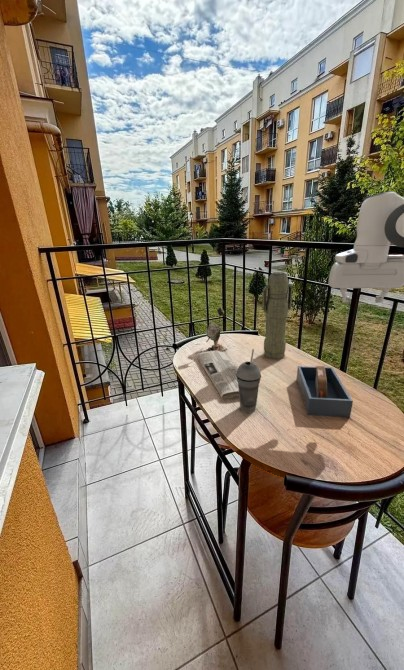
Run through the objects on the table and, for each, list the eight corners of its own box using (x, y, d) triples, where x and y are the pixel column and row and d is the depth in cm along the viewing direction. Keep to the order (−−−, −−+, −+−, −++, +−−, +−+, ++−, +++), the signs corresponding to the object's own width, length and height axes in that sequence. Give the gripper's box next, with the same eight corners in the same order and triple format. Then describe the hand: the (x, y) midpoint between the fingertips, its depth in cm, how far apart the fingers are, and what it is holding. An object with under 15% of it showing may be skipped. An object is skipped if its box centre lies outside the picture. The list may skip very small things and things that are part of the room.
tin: (326, 409, 83) (329, 384, 80) (314, 407, 84) (317, 383, 81) (323, 384, 96) (325, 362, 93) (313, 382, 97) (315, 361, 94)
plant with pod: (216, 343, 136) (215, 303, 129) (229, 351, 127) (229, 308, 120) (201, 347, 132) (200, 306, 125) (214, 355, 123) (213, 311, 116)
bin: (330, 381, 99) (332, 367, 97) (350, 417, 80) (353, 400, 78) (296, 379, 101) (297, 366, 99) (307, 414, 82) (309, 398, 80)
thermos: (256, 353, 123) (259, 272, 111) (280, 349, 126) (285, 270, 114) (266, 361, 115) (270, 275, 103) (291, 357, 118) (298, 273, 106)
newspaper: (196, 357, 121) (196, 350, 120) (223, 353, 124) (223, 346, 123) (223, 401, 89) (223, 392, 88) (258, 395, 92) (259, 385, 91)
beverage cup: (241, 399, 90) (242, 342, 83) (263, 405, 87) (266, 346, 80) (231, 411, 84) (231, 351, 77) (254, 418, 81) (256, 355, 74)
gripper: (403, 253, 82) (394, 299, 87) (329, 255, 85) (324, 299, 90) (415, 255, 76) (404, 304, 81) (335, 257, 80) (329, 304, 84)
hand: (361, 302), depth 86 cm, fingers open, 8 cm apart
